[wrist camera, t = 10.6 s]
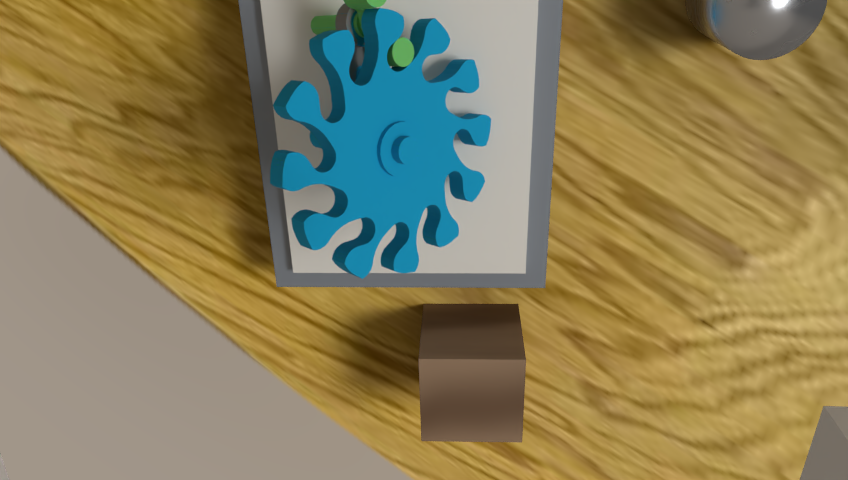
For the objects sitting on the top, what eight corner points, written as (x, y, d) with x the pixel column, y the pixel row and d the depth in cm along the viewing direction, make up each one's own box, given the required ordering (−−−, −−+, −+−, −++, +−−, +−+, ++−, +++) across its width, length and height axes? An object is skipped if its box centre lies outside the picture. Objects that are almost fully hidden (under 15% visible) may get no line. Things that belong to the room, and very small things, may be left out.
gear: (504, 245, 30) (308, 319, 24) (414, 220, 34) (228, 278, 28) (498, -28, 27) (267, -25, 20) (399, -18, 31) (183, -12, 25)
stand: (239, -129, 28) (217, -131, 26) (562, -138, 28) (573, -141, 25) (288, 262, 36) (274, 290, 34) (539, 263, 36) (545, 291, 33)
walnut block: (423, 303, 37) (418, 358, 33) (517, 303, 37) (525, 359, 32) (425, 378, 39) (421, 440, 35) (515, 379, 39) (522, 442, 35)
